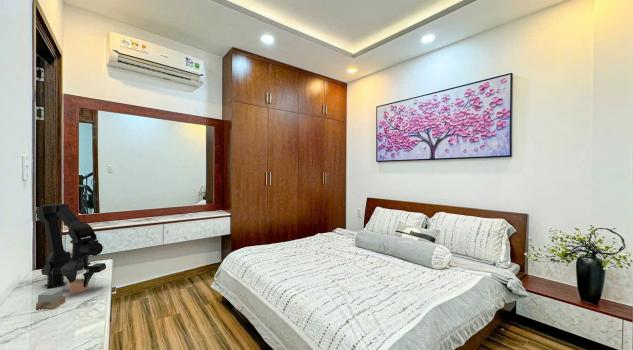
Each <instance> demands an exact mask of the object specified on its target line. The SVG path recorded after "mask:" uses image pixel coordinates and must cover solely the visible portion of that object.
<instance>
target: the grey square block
mask: <svg viewBox="0 0 633 350" xmlns="http://www.w3.org/2000/svg"><path fill="white" fill-rule="evenodd" d="M63 293H64V289H63V288H62V289H61V288H59V289H58V288H57V289H47V290H46V291H43V292H42V293H40V294H38V295H37V303H45V302H54V301H55V300H57V299H59V298H61V297H63V296H64V295H63Z"/></svg>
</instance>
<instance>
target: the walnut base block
mask: <svg viewBox="0 0 633 350" xmlns="http://www.w3.org/2000/svg"><path fill="white" fill-rule="evenodd" d="M65 303H66V295H63V297H61V298H59V299H57V300H55V301H54V302H45V303H38V302H36V303H35V310H36V311H42V310H41V309H51V310H55V309H57V308H59V307H60V306H61V304H62V305H64V304H65ZM39 309H40V310H39Z"/></svg>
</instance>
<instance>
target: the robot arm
mask: <svg viewBox="0 0 633 350" xmlns="http://www.w3.org/2000/svg"><path fill="white" fill-rule="evenodd" d="M35 215H36V217H37V218H38V221H40V222H41V223H42V224H43V226H44V229H45V230H44V231H45V234H46V241H47V247H48V251H49V254H48V255H47V257H46V259H45V264H44V266H43V267H42V268H41V271H40V272H41V275H43V276H47V277H46V278H47V280H46V281H47V282H46V283H44V287H45V288H46V289H47V290H49V289H53V288H56V287H61V286H65V285H67V282H65V277H66V279H67V280H68V283H69V284H70V283H71V282H73V281H75V280H77V275H78V274H77V271H81V270H83V271H85V272H84V273H82V276H83V279H84V287H86V286H87V284H88V285H89V282H90V281H91V278H92V277H93V275H94V274H98V273H101V272H102V271H105V270H106V269H107V265H106V263H105V262H102V263H101V262H97V263H94V264H93V265H91V262H90V261H89V257H91V256H92V257H94V256H95V257H96V256H98V255H100V254H101V253H102V252H103V250H104V246H103V244H102V243H100V242H99V240H98V237H97V234H96V233H95V230H94V229H93V227H92V226H91V225H90V224H88V223H87V222H85V221H81V219H79V218H78V217H77V215H76V214H75V213H74V212H73V210H71V208H70V206H69V204H68V203H58V204H57V203H55V204H43V205H42V204H41V205H39V206H38V207H37V208H36V209H35ZM60 220H61V222H63V223H64V225H66V227H67V229H68V231H67V234H68V236H69V237H70V239H71V240H70V244H72V243H73V247H72V257H71V256H70V252H67V250H65V249H64V245H63V244H64V243H63V237H62V233H61V228H60V222H59V221H60Z"/></svg>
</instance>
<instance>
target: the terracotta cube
mask: <svg viewBox="0 0 633 350" xmlns="http://www.w3.org/2000/svg"><path fill="white" fill-rule="evenodd" d="M87 289H89V283H88V284H87V286H86V287H84V278H76V280H75V281H73V282H71V283H69V293H70V294H75V293H76V294H77V293H83V292H84V291H86V290H87Z"/></svg>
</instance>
